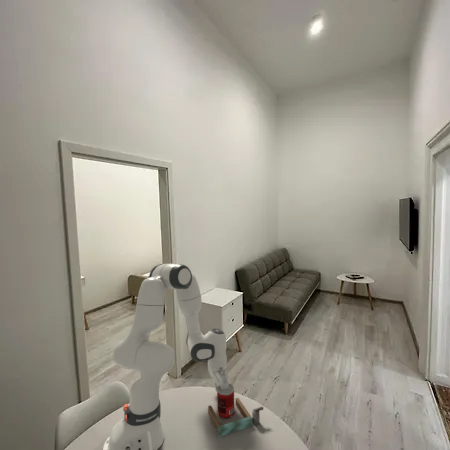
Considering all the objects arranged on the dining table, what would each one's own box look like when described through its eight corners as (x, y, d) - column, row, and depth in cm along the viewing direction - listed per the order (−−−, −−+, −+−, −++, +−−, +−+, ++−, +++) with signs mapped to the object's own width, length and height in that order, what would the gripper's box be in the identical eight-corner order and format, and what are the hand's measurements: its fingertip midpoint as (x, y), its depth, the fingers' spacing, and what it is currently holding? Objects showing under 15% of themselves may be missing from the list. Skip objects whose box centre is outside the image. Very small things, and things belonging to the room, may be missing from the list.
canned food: (235, 406, 120) (234, 383, 120) (233, 419, 112) (233, 394, 112) (218, 406, 120) (218, 382, 121) (216, 418, 112) (215, 393, 113)
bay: (219, 438, 102) (219, 423, 102) (208, 412, 116) (207, 399, 116) (265, 423, 109) (264, 409, 109) (248, 400, 124) (248, 388, 124)
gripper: (232, 372, 117) (232, 403, 117) (216, 352, 136) (217, 378, 136) (219, 375, 115) (219, 407, 114) (205, 355, 134) (205, 381, 134)
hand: (218, 391), depth 125 cm, fingers closed
